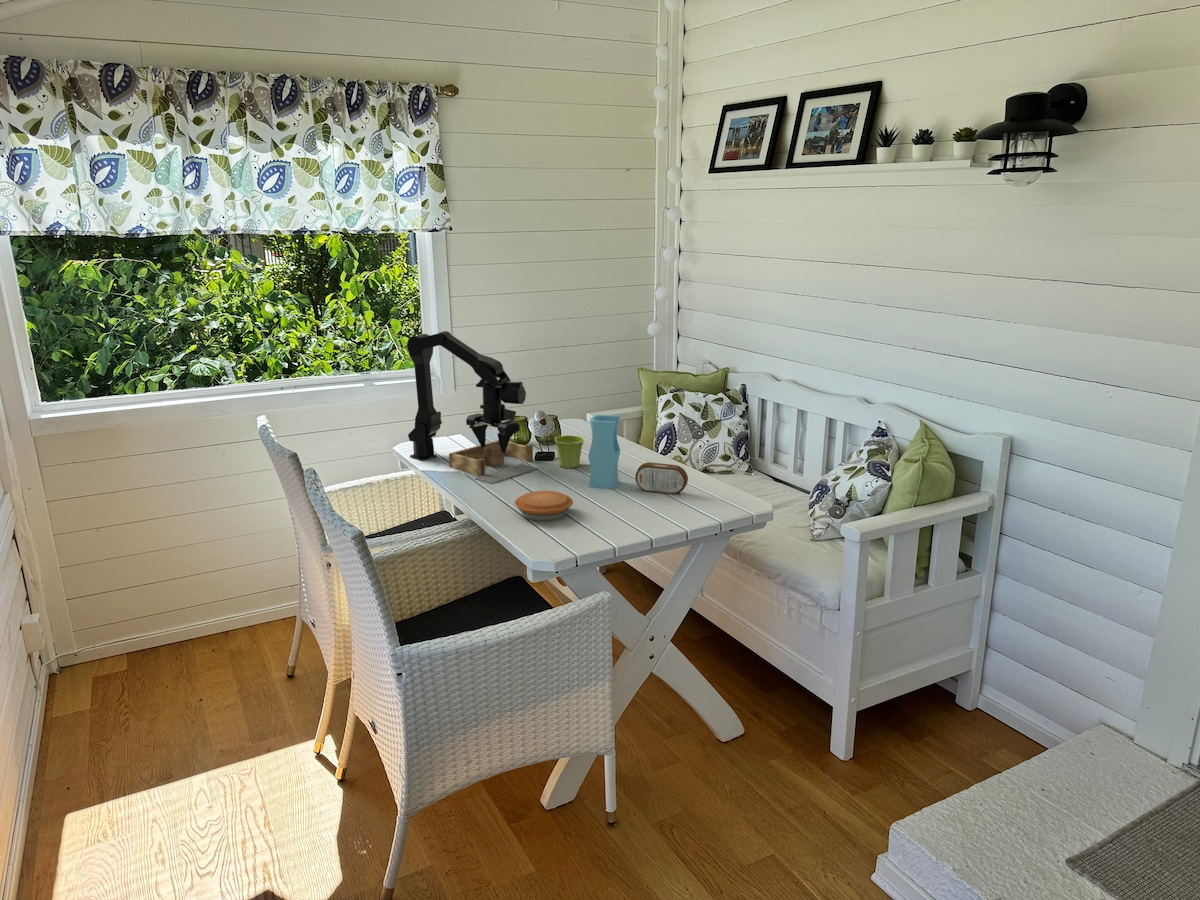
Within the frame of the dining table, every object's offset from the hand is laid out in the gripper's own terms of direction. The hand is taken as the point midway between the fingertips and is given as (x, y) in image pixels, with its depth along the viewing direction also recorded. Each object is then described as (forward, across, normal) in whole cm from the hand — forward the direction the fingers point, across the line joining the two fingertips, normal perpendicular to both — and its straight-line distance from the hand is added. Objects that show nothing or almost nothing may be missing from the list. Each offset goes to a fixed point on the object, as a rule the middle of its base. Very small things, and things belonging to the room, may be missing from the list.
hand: (493, 450), depth 276 cm
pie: (+5, -43, +22) cm, 48 cm away
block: (+5, 0, 0) cm, 5 cm away
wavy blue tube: (+5, -39, -8) cm, 40 cm away
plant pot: (+5, -19, -15) cm, 24 cm away
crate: (+5, +1, 0) cm, 5 cm away
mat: (+5, -10, +4) cm, 12 cm away
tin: (+5, -56, -13) cm, 57 cm away
